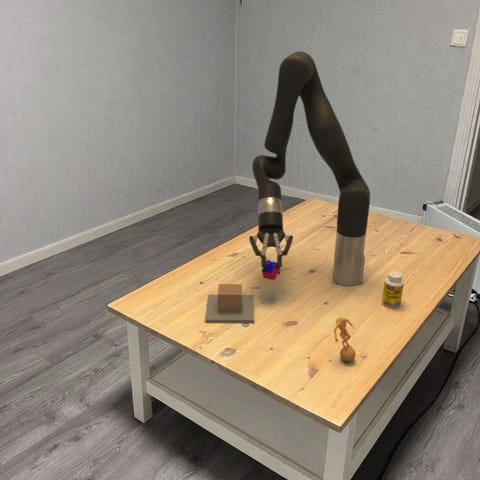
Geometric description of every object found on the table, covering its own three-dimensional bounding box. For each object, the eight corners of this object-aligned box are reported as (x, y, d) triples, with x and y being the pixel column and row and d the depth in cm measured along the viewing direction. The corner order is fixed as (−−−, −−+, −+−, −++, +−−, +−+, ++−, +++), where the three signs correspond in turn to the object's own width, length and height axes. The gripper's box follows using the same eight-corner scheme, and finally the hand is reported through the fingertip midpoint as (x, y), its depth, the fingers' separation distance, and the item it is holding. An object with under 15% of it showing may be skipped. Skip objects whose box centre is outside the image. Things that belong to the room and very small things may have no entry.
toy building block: (264, 281, 162) (259, 266, 156) (269, 270, 164) (264, 254, 158) (275, 283, 160) (270, 268, 154) (280, 272, 162) (275, 257, 156)
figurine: (345, 371, 133) (349, 331, 128) (324, 361, 137) (328, 321, 131) (362, 355, 138) (366, 317, 133) (342, 346, 142) (346, 308, 137)
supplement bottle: (381, 306, 160) (385, 277, 156) (382, 297, 165) (386, 268, 161) (400, 309, 159) (404, 280, 154) (400, 300, 163) (405, 271, 159)
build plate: (253, 297, 165) (253, 277, 162) (254, 322, 152) (254, 302, 149) (208, 297, 165) (207, 277, 162) (205, 322, 152) (204, 301, 149)
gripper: (247, 210, 160) (247, 265, 154) (294, 209, 159) (296, 264, 153) (247, 220, 167) (248, 272, 161) (292, 219, 166) (294, 272, 161)
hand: (271, 268), depth 157 cm, fingers closed on toy building block, 3 cm apart
